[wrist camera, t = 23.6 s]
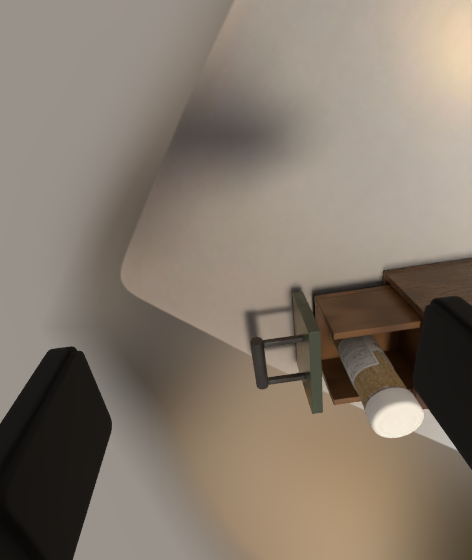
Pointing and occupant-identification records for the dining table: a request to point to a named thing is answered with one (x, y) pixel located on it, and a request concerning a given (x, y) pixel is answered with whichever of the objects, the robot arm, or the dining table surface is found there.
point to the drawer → (342, 324)
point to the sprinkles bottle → (379, 387)
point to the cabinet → (431, 286)
